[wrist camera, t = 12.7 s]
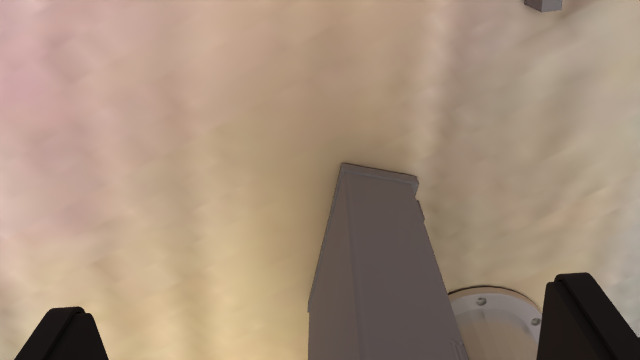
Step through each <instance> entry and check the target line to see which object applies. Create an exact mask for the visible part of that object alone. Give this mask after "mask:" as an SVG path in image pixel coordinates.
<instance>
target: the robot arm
mask: <svg viewBox="0 0 640 360" xmlns="http://www.w3.org/2000/svg"><path fill="white" fill-rule="evenodd" d="M448 297H449V300H450V303H451V306H452V309H453V312H454V315H455V318H456V321H457V324H458V327H459V331H460V334H461V337H462V340H463V343H464V346H465V349H466V352H467V355H468V358H469V360H640V337H637V336H636V334H635V333H634V332H633V330H632V329H631V328H630V326H629V325H628V324H627V322H626V321H625V320H624V318H623V317H622V316H621V314H620V313H619V312H618V310H617V309H616V308H615V306H614V305H613V304H612V302H611V301H610V300H609V298H608V297H607V296H606V294H605V293H604V292H603V290H602V289H601V288H600V286H599V285H598V283H597V282H596V281H595V279H594V278H593V277H592V276H591V275H590V274H589V273H586V272H585V273H570V274H559V275H557V276H556V277H555V280H554V282H549V283H547V285H546V290H545V298H544V305H543V313H542V312H541V311H540V310H539V308H538V307H537V306H536V305H535V304H534V303H533V302H532V301H530V300H529V299H528V298H527V297H525V296H522V295H520V294H518V293H516V292H513V291H510V290H506V289H502V288H493V287H482V288H472V289H467V290H462V291H459V292H456V293H453V294H450V295H448ZM14 360H109V359H108V357H107V354H106V351H105V348H104V346H103V343H102V340H101V337H100V335H99V332H98V329H97V326H96V323H95V321H94V318H93V316H92V315H91V314H90V313H85V311H84V309H83V308H81V307H65V308H53V309H50V310H49V311H48V312H47V313H46V314H45V316H44V317H43V319H42V320H41V322H40V323H39V324H38V326H37V327H36V329H35V330H34V332H33V333H32V335H31V336H30V337H29V339H28V340H27V342H26V343H25V345H24V346H23V348H22V349H21V351H20V352H19V353H18V355H17V356H16V358H15V359H14Z"/></svg>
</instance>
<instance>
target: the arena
mask: <svg viewBox="0 0 640 360" xmlns="http://www.w3.org/2000/svg"><path fill="white" fill-rule="evenodd" d="M525 5H527V6H529V7H531V8H534V9H536V10H538V11H540V12H547V11H557V10H562V0H525Z"/></svg>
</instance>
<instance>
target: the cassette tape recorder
mask: <svg viewBox="0 0 640 360" xmlns="http://www.w3.org/2000/svg"><path fill="white" fill-rule="evenodd" d="M418 185H419V182H418V179H417V177H416V176H411V175H405V174H399V173H394V172H388V171H383V170H377V169H372V168H366V167H361V166H355V165H350V164H344V163H342V165H341V169H340V173H339V177H338V181H337V185H336V190H335V194H334V198H333V202H332V206H331V210H330V214H329V219H328V223H327V227H326V231H325V235H324V239H323V243H322V248H321V252H320V256H319V260H318V264H317V268H316V272H315V277H314V281H313V285H312V289H311V293H310V297H309V301H308V312H309V343H308V360H469V358H468V355H467V352H466V349H465V346H464V343H463V340H462V337H461V334H460V331H459V327H458V324H457V321H456V318H455V315H454V312H453V309H452V306H451V303H450V300H449V297H448V294H447V291H446V288H445V285H444V282H443V279H442V276H441V273H440V270H439V267H438V264H437V261H436V258H435V255H434V252H433V249H432V246H431V243H430V240H429V237H428V234H427V231H426V228H425V225H424V220H425V218H424V215H423V212H422V209H421V206H420V203H419V201H418V200H416V198H415V195H416V191H417V188H418Z"/></svg>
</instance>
